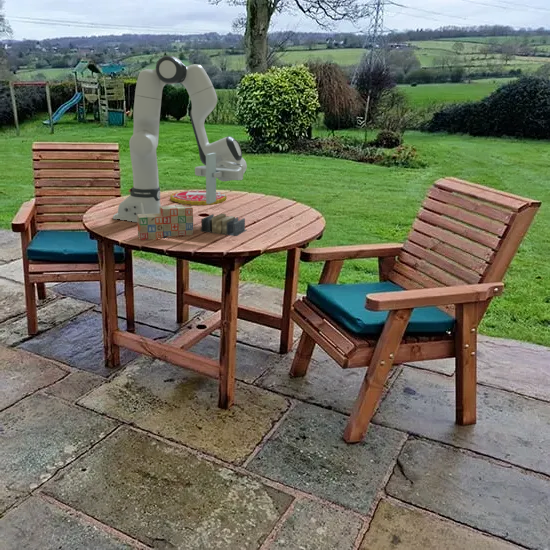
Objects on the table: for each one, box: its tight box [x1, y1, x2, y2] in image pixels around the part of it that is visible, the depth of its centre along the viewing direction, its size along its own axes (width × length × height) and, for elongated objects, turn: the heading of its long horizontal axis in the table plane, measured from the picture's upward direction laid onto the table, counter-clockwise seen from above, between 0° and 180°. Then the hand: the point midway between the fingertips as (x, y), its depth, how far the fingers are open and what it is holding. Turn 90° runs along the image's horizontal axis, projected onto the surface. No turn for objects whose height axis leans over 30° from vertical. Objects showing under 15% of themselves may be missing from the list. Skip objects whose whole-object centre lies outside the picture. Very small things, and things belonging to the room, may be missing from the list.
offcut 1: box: [212, 213, 227, 234], centre depth 222 cm, size 2×9×6 cm, turn 159°
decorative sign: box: [169, 189, 228, 206], centre depth 284 cm, size 30×3×30 cm
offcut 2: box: [215, 215, 230, 235], centre depth 221 cm, size 2×10×5 cm, turn 159°
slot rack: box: [200, 213, 248, 237], centre depth 221 cm, size 17×11×6 cm, turn 69°
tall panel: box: [205, 153, 217, 204], centre depth 217 cm, size 2×6×20 cm, turn 159°
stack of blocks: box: [136, 204, 194, 241], centre depth 212 cm, size 21×6×12 cm, turn 111°
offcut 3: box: [222, 215, 236, 234], centre depth 220 cm, size 2×8×6 cm, turn 159°
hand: (210, 175), depth 215 cm, fingers closed on tall panel, 1 cm apart
